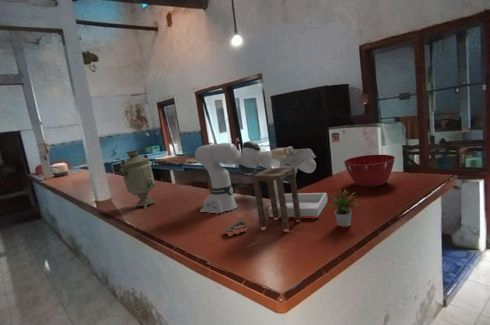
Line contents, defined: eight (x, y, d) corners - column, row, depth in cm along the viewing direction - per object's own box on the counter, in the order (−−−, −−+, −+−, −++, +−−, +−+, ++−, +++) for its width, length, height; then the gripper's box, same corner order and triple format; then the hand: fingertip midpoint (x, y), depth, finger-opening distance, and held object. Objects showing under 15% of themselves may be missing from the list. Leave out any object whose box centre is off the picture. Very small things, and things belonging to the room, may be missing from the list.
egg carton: (244, 227, 150) (243, 219, 149) (250, 232, 143) (248, 223, 142) (223, 233, 146) (222, 225, 145) (228, 238, 139) (227, 230, 138)
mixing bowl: (336, 186, 192) (333, 162, 189) (369, 175, 203) (367, 152, 201) (372, 194, 167) (369, 166, 164) (408, 181, 178) (406, 155, 175)
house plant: (337, 236, 124) (332, 197, 121) (319, 225, 137) (315, 190, 134) (367, 227, 127) (363, 189, 124) (347, 217, 140) (343, 183, 138)
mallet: (285, 153, 154) (284, 145, 154) (296, 152, 151) (295, 144, 150) (272, 159, 143) (270, 150, 143) (283, 158, 140) (282, 150, 139)
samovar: (132, 216, 197) (118, 155, 190) (119, 210, 217) (106, 155, 210) (174, 202, 215) (162, 146, 208) (158, 197, 235) (147, 146, 229)
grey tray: (269, 217, 156) (268, 208, 155) (283, 202, 177) (282, 193, 176) (318, 218, 145) (317, 208, 144) (327, 201, 166) (326, 192, 165)
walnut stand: (275, 218, 153) (268, 168, 149) (301, 221, 145) (294, 167, 140) (260, 230, 142) (252, 176, 138) (287, 233, 134) (279, 175, 129)
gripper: (317, 163, 152) (305, 155, 141) (280, 164, 164) (267, 156, 153) (318, 151, 154) (306, 142, 143) (282, 153, 166) (269, 144, 155)
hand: (286, 149), depth 148 cm, fingers closed on mallet, 2 cm apart
